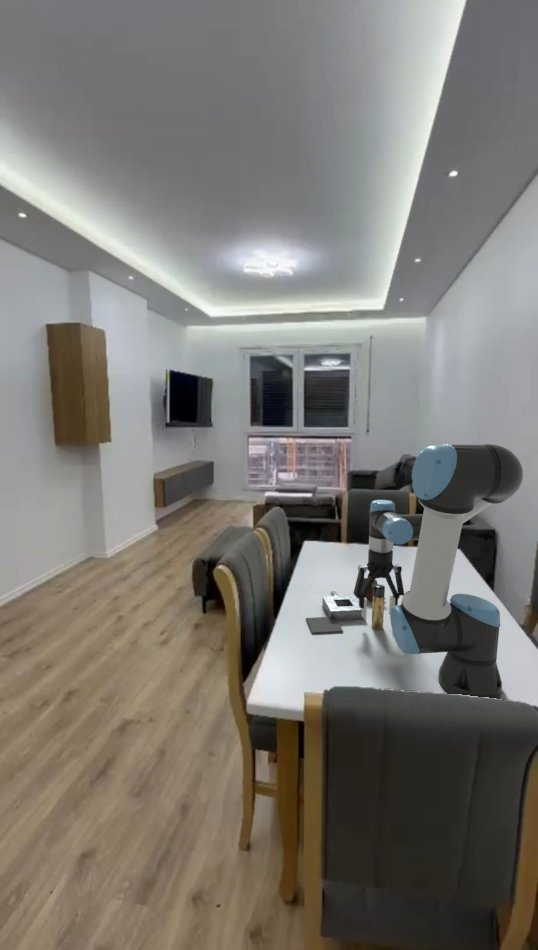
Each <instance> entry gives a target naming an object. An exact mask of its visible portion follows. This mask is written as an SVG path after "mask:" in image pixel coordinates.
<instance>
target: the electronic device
mask: <svg viewBox="0 0 538 950" xmlns="http://www.w3.org/2000/svg"><path fill="white" fill-rule="evenodd" d="M366 579H367V578H366V577H364V580H363V584H362V587H363V585H364V583H365V581H366ZM376 584H378V580H377V579H375V581H373V583H372V585H371V587H370V589H369V591H368V593H367V595H366V596H365V598H366V599H367V601H370V602H373V586H374V585H376ZM361 589H362V588H361ZM385 600H386V597H384V601H385Z"/></svg>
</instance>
